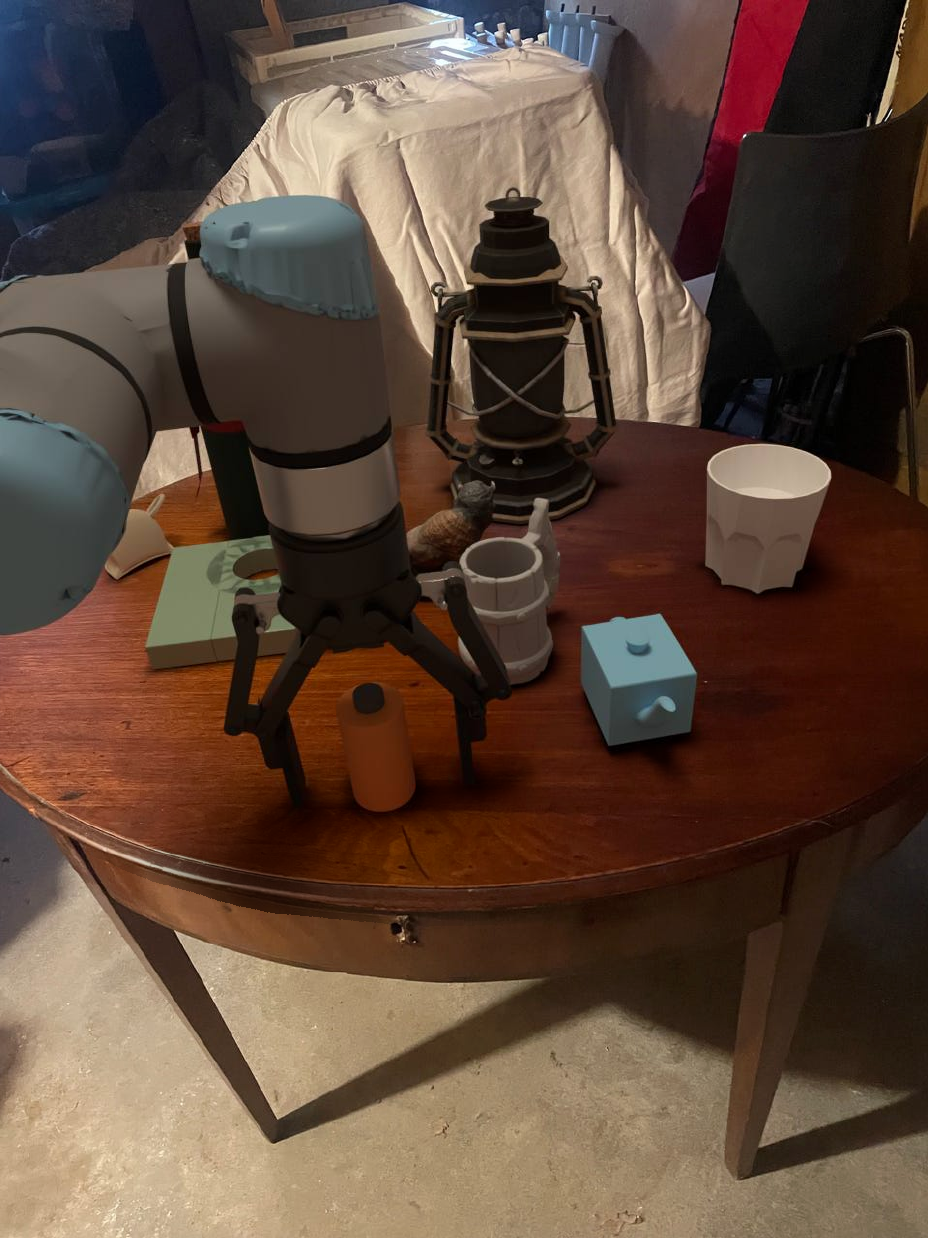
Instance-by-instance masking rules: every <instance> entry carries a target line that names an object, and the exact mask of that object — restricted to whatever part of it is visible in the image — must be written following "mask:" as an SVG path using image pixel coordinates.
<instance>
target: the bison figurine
mask: <svg viewBox="0 0 928 1238" xmlns="http://www.w3.org/2000/svg"><path fill="white" fill-rule="evenodd" d="M491 484H492V485H491V487H489V486H486V485H485V484H484V483H483V482H482V481H472V482H469V483H466V484H465V485H462V482H460V483H459V485H458V490H459V494H458V496H457V499H453V500H452V503H453V508H450V509H443V510H441V511H438V512H436V513H435V514H434V515H433V516H431V517H429V518H428V519H427V520H426V521H425V522H424V523H423V524H421V525H417V526H416V527H414V528H412V529H410V530H409V531H408V532H406V535H407V543H408V551H409V559H410V563H411V565H412V567H413V568H414V569H415V570H416V572H417V573H418V574H425V573H433V572H441V571H442V570H443V566H444V565H445V564H446V563H448V562H451V561H456V562H458V563H459V564H460V558H461V556H462V555H463V554H464V553H465V551H466V549H467V548H469V547H470V546H471V545H473V544H475V543H477V542H479V541H482V540H481V539H482V538H483V535H484V533H485V530H487V529H488V528H489V527H490V526H491V525H492V524H493V523H494V522H495V521H494V519H493V509H494V508H496V505H495V501H494V500H493V495H494V492H495V484H494V482H493V481H491Z"/></svg>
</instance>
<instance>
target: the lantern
mask: <svg viewBox="0 0 928 1238" xmlns="http://www.w3.org/2000/svg"><path fill="white" fill-rule="evenodd" d="M512 191H515V192H516V196H509V195H510V193H511V192H512ZM504 196H505V197H502V198H501V197H500V198H497V199H496V198H495V199H493V200H490V201H488V202H486V203H485V204H484V207H485V209H486V210H487V211H490V212H492V213H493V217H492V218H488V219H484V220H483V221H482V222H480V223H479V224H478V227H479V242H478V243H477V244H476V245H475V246H474V248H473V251H472V255H471V258H470V263H469V264H468V265H467V266H466V268H465V269H463V273H464V274H463V275H464V278H465V283H466V285H467V286H468V285H469V286H473V288H470V289H467V290H466V291H446V292H445V291H444V289H445V288H447V287H448V284H446V283H445V282H443V281H435V282H433V283H432V284H431V285H430V293H431V294H432V295H433V296H434V297H435V298H437V311H436V312H434V313H433V321H434V332H433V333H434V334H433V344H432V345H433V346H432V347H433V348H432V359H431V373H430V375H429V383H430V388H429V401H428V416H427V427H426V428H425V436H426V437H428V438H429V439H430V440H431V441H432V442H433V443H434V444H435V445H436V446H437V447H438V448H439V450H440V451H441V452H442V453H443V454H444V457H445V458H446V459H447V460H448V461H450V460H452V461H456V462H458V464H457V466H456V467H455V468H454V469H453V471H451V478H452V479H451V480H452V482H451V484H450V485H449V486H450V489H451V493H452V495H453V498H454V499H453V500H455V499H457V496H458V494H459V490H458V485H459V483H460V482H462V485H465V484H466V483H469V482H472V481H482V482H483V483H484V484H485V485H486V486H489V487H491V485H492V484H491V481H493V482H494V484H495V492H494V495H493V500H494V501H495V505H496V508H494V509H493V519H494V521H493V522H495V523H503V524H512V525H519V526H520V525H526V524H529V520H530V517H531V516H532V513H533V511H534V505H533V504H534V501H535V499H536V498H542V499H547V500H548V501H549V508H548V514H549V521H552V520H558V519H560V518H562V517H564V516H566V515H568V514H570V513H572V512H574V511H577V510H578V509H580V508H582V507H583V506H586V504H588V501H589V499H590V497H591V495H592V493H593V491H594V489H595V487H596V485H597V482H596V480H595V479H594V473H595V472H594V469H593V467H592V465H591V464H590V462H589V461H588V459H590V458H593V457H594V458H596V457H598V455H599V454H600V450H601V449H602V448H603V447H604V446H605V445H606V443H607V442H608V441H609V440H610V438H612V436H613V435H614V434H615V433H616V432H618V430H619V423H618V422H617V420H616V419H617V418H616V413H615V406H614V399H613V398H614V397H613V391H612V390H613V389H612V384H611V374H612V373H611V368H609V361H608V356H607V349H606V341H605V335H604V334H605V333H604V327H603V320H602V315H603V308H602V306H601V305H599V299H598V297H599V290H601V289H602V287H603V285H604V281H603V280H602V277H600V276H598V275H590V276H589V278H587V279H586V282H587V283H589V284H590V285H586V286H585V285H584V286H567V285H564V284H563V285H562V284H560V281H562V280H563V278H564V276H565V275H566V273H567V271H568V269H569V266H568V264H567V262H566V260H565V259H564V257H563V255H561V254H560V252H559V249H558V246H557V243H556V242H555V240H553V239H552V238H551V237H550V220H549V219H548V218H547V217H546V216H541V215H537V214H535V209H538V208H540V206H542V205H543V204H544V203H543V201H542V200H541V199H540V198H538V197H531V196H521V191H520V190H519V189H518V188H517V187H515V186H512V187H509V188H507V190H506V191H505V195H504ZM593 281H595V282H593ZM596 282H597V283H596ZM437 287H441V288H439V289H438V292H437V291H436V288H437ZM587 292H591V295H592V297H591V295H589V294H588V293H587ZM443 298H447V299H446V300H445V302H444V303H443ZM576 314H577V315H578V316H579V317H578V318H579V319H578V320H579V323H580V324H581V328H582V334H583V341H584V345H585V354H586V360H587V366H588V372H587V376H588V379H589V380H590V386H591V393H592V398H593V399H592V400H589V401H588V402H587V403H585V404H583V405H581V406H580V407H578V408H576V409H566V407H565V405H564V396H565V384H566V383H565V378H566V377H565V374H566V373H565V366H566V365H565V361H566V360H565V355H566V354H565V351H566V349H567V348H568V345H569V343H570V339H569V338H568V337H566V336H569V335H570V334H571V331H572V329H573V327H574V325H575V323H576V321H577V316H576ZM460 317H461V318H460ZM459 318H460V319H459ZM458 319H459V321H458ZM457 321H458V322H459V323H458V324H459V328H460V335H461V339H462V340H467V341H466V342H467V344H468V354H469V355H468V356H469V357H468V358H469V371H470V384H471V385H470V387H471V394H472V399H473V400H472V401H473V404H472V406H471V411H469V410H467V409H465V408H463V407H461V406H459V405H457V404H455V403H453V402H451V401H449V392H450V384H451V382H452V376H451V370H452V369H451V368H452V358H453V357H452V356H453V346H454V337H455V329H456V327H457ZM591 405H594V410H595V411H594V412H595V418H596V422H595V428H594V430H592V432H591V433H590V434H589V435H588V434H587V435H586V436H585V437H584V438H583V440H580V441H577V442H573V441H572V439H571V438H568V437H566V435H567V433H568V432H569V430H570V428H571V427H572V424H571V422H570V421H569V420H568V418H567V416H566V414H575V413H576V414H577V413H580V412H581V411H583V410H585V409H586V408H588V407H589V406H591ZM448 406H450V407H452V408H454V409H456V410H458V411H460V412H461V413H464V414H465V415H467V416H473V417H474V416H475V417H477V419H476V420H475V421H474V423H472V425H471V426H470V430H471V432H472V434H473V436H474V439H475V441H474V442H473V443H471V444H470V445H469V444H465V443H461V442H460V440H459V439H458V438H457V437H456V438H455V437H454V436H453V435H452V434H451V433H450V432H448V425H447V413H448Z"/></svg>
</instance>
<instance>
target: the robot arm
mask: <svg viewBox="0 0 928 1238" xmlns="http://www.w3.org/2000/svg"><path fill="white" fill-rule="evenodd" d="M201 222H202V224H201V228H200V239H201V246H202V247H201V249H200V253H199V255H200V258H195V259H189V260H187V261H186V262H185V261H183V262H175V263H169V264H159V265H148V266H137V267H128V268H127V267H126V268H117V269H116V268H115V269H107V270H96V271H87V272H74V273H65V274H64V273H63V274H54V275H34V274H33V273H30V274H29V273H28V274H20V275H14V277H11V278H10V279H9V280H6V281H0V637H1V636H2V637H3V636H4V637H5V636H12V635H19V634H24V633H28V632H31V631H32V632H33V631H36V630H39V629H41V628H44V627H47V626H50V625H51V624H53V623H55V622H57V621H59V620H61V619H63V618H65V616H67V615H68V614H69V613H71V612H72V611H73V610H74V609H75V608H77V607H78V606H79V605H80V604H81V603H82V602H83V601H84V600H85V599H86V598H87V596H88V595H89V594H90V593H92V591H93V590H94V588H95V587H96V585H97V583H98V580H99V578H100V577H101V574H102V572H103V570H104V569H105V564H106V561H107V559H108V557H109V555H110V554H111V553H112V552H113V551H114V550H115V549H116V547H117V546H118V544H119V543H120V541H121V539H122V537H123V535H124V533H125V531H126V523H127V517H128V513H129V510H130V509H131V506H132V501H133V499H134V498H133V497H134V495H135V492H136V489H137V486H138V483H139V480H140V477H141V474H142V471H143V468H144V465H145V463H146V461H147V459H148V457H149V454H150V451H151V448H152V446H153V443H154V441H155V437H156V434H157V432H164V431H173V430H180V429H187V428H188V429H189V427H197V426H199V427H200V426H205V425H207V426H208V425H213V424H221V423H222V422H226V421H234V420H239V421H242V422H243V425H244V428H245V430H246V433H247V439H248V444H249V449H250V454H251V458H252V462H253V467H254V471H255V475H256V479H257V484H258V488H259V492H260V497H261V501H262V505H263V510H264V514H265V516H266V517H267V519H268V520H269V534H270V538H271V542H272V547H273V551H274V555H275V559H276V564H277V568H278V569H277V573H278V574H279V577H280V581H281V586H280V589H279V592H275V593H267V594H259V595H256V594H255V592H254V591H253V590H252V589H250V588H248V587H243V588H240V589H238V590H237V591H236V593H235V599H234V605H233V612H232V623H233V627H234V630H235V634H236V637H237V641H238V644H237V650H236V655H235V659H234V662H233V668H232V674H231V678H230V679H231V680H230V684H229V685H230V686H229V691H228V692H229V693H228V697H227V703H226V708H225V709H226V710H225V716H224V722H223V732H224V734H225V735H228V736H229V737H237V736H240V735H241V734H243V733H248V734H252V735H254V736H255V737H256V738H257V740H258V744H259V747H260V750H261V754H262V758H263V761H264V764H265V765H264V766H265V767H267V768H268V770H270V771H271V770H279V769H282V773H283V776H284V779H285V783H286V787H287V790H288V794H289V798H290V801H291V805H292V808H293V810H297V809H303V808H305V804H306V803H305V802H306V779H307V778H306V775H305V771H304V767H303V763H302V759H301V755H300V752H299V748H298V743H297V740H296V736H295V732H294V727H293V723H292V720H291V717H290V711H289V709H290V707H291V706H292V704H293V702H294V700H295V699H296V697H297V695H298V693H299V691H300V690H301V688H302V686H303V685H304V683H305V681H306V680H307V678H308V676H309V674H310V672H311V670H312V669H315V668H316V667H317V665H318V663H319V662H320V660H321V658H322V656H323V655H324V653H325V651H326V650H330V651H332V654H333V655H334V654H340V653H346V652H347V653H348V652H350V651H352V650H353V651H354V650H355V649H359V648H360V649H370V650H371V649H380V648H385V644H386V643H388V644H390V645H391V646H392V647H393V648H394V649H395V650H397V652H399V653H400V654H401V655H402V656H403V657H407V656H408V657H409V658H411V659H412V660H413V661H414V662H415V663H416V664H417V665H418V666H419V667H421V668H422V669H423V670H424V671H425V672H426V673H427V674H428V675H430V676H431V677H432V678H433V679H434V680H435V681H436V682H438V684H440V686H442V687H443V688H444V690H446V691H447V692H448V693H450V695H452V698H453V707H454V718H455V726H456V737H457V738H456V739H457V746H458V756H459V757H458V758H459V764H460V770H461V776H462V782H463V786H472V785H475V784H476V783H475V773H474V771H475V770H474V761H473V750H472V749H473V748H472V743H476V742H483V741H485V740H486V738H487V735H488V733H487V719H486V718H487V717H486V715H487V713H488V711H487V704H488V703H489V702H491V701H493V700H495V699H496V700H499V701H506V700H508V699H510V698H511V696H512V694H513V690H512V685H510V681H509V677H508V673H507V669H506V666H505V664H504V662H503V660H502V659H501V657H500V655H499V653H498V651H497V650H496V648H495V646H494V644H493V642H492V641H491V639H490V637H489V635H488V633H487V632H486V630H485V628H484V626H483V624H482V623H481V621H480V619H479V617H478V615H477V614H476V612H475V610H474V608H473V606H472V605H471V603H470V601H469V599H468V597H467V589H466V584H465V580H464V575H463V570H462V567H461V565H460V564H459V563H458V562H456V561H451V562H448V563H446V564H445V565H444V566H443V570H442V571H441V572H433V573H425V574H418V573H417V572H416V570H415V569H414V568H413V567H412V565H411V563H410V559H409V551H408V543H407V535H406V534H407V527H406V520H405V512H404V506H403V504H402V502H401V500H400V498H401V496H402V492H401V491H402V489H401V482H400V475H399V474H400V473H399V467H398V458H397V450H396V440H395V433H394V432H395V431H394V427H393V424H392V416H391V406H390V398H389V389H388V379H387V372H386V363H385V354H384V344H383V336H382V328H381V318H380V317H381V316H380V310H379V303H378V302H379V301H378V296H377V292H376V291H377V290H376V286H375V281H374V280H375V279H374V274H373V269H372V263H371V258H370V257H371V256H370V252H369V246H368V240H367V235H366V229H365V226H364V225H365V224H364V223H363V221H362V219H361V217H360V216H359V215H358V213H357V212H356V211H355V210H354V209H353V208H352V207H351V206H350V205H348V204H347V203H345V202H343V201H341V200H339V199H337V198H333V197H330V196H324V195H314V194H311V195H310V194H294V195H293V194H292V195H278V196H268V197H262V198H259V199H257V200H252V201H241V202H236V203H233V204H229V205H226V206H223V207H220V208H218V209H215V210H214V211H212V212H210V213H209V214H207V216H205V218H204V219H203V220H202V221H201ZM422 597H426V598H429V599H430V600H431V601H432V602H433V604H434V606H435V607H437V608H439V610H440V611H443V612H445V611H447V612H448V616H449V619H450V623H451V624H452V626H453V629H454V630H455V632H456V633H457V635H458V637H460V639H461V640H462V642H463V644H464V645H465V647H466V649H467V651H468V652H469V654H470V656H471V657H472V659H473V661H474V663H475V664H476V666H477V668H478V669H479V671H480V673H481V674H480V675H477V674H476V673H475V672H474V671H473V670H472V669H471V668H469V667H468V666H467V665H466V664H465V663H464V661H463V660H462V658H461V657H459V656H458V655H457V654H456V653H455V652H454V651H453V650H452V649H450V647H448V645H446V644H445V643H444V642H443V641H442V640H441V639H440V638H439V637H438V636H437V635H435V634H434V633H433V632H432V631H431V630H430V629H429V628H428V627H427V626H426V625H425V624H424V623H423V622H422V621H421V620H420V618H419V616H418V615H417V613H416V612H415V611H414V609H415V608H416V606H417V605H418V604H419V602H420V600H421V598H422ZM279 614H280V615H281V616H282V617H283V618H284V619H285V620H287V621H288V622H289V623H290V624H292V625H293V626H294V627H296V628H297V629H298V630H297V633H296V636H295V638H294V640H293V642H292V644H291V646H290V648H289V649H288V651H287V653H285V655H284V657H283V658H282V660H281V662H280V664H279V666H278V667H277V669H276V671H275V673H274V675H273V676H272V678H271V680H270V682H269V684H268V686H267V687H266V689H265V691H264V693H263V694H262V696H261V698H260V697H258V698H257V703H256V704H253V703H249V701H250V697H251V691H252V686H253V681H254V674H255V669H256V663H257V659H258V656H257V654H258V646H259V637H260V635H261V634H263V633H264V632H265V631H266V630H268V629H269V628H270V626H271V620H272V618H273V617H274V616H276V615H279Z"/></svg>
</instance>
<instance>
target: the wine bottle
mask: <svg viewBox="0 0 928 1238" xmlns="http://www.w3.org/2000/svg"><path fill="white" fill-rule="evenodd" d="M202 222H203V221H194V222H185V223H184V224H183V226H182V231H183V233H184V236H185V240H184V241H183V243H184V247H185V251H186V255H187V259H188V260H189V259H195V258H200V255H199V253H200V249H201V247H202V246H201V239H200V228H201V224H202ZM188 260H187V261H188ZM188 429H189V432H190V436H191V439H193V444H194V445H193V446H194V452H195V458H196V465H197V466H196V467H197V472H198V479H199V483H198V486H197V489H196V495H195V500H194V502H197V499H198V496H199V493H200V490H201V484H202V478H203V468H202V467H203V466H202V461H201V451H200V444H199V436H198V435H199V433H200V432H201V434H202V435H201V436H202V439H203V442H204V446H205V450H206V454H207V458H208V461H209V466H210V469H211V470H210V471H211V474H212V478H213V481H214V485H215V489H216V492H217V496H218V497H217V498H218V500H219V504H220V509H221V512H222V515H223V519H224V523H225V527H226V532H227V535H228V537H229V541H231V540H240V539H248V538H253V537H259V536H268V535H270V534H269V520H268V519H267V517H266V516H265V514H264V510H263V505H262V501H261V497H260V492H259V488H258V484H257V479H256V475H255V471H254V467H253V462H252V458H251V454H250V449H249V444H248V439H247V433H246V430H245V428H244V425H243V422H242V421H239V420H234V421H226V422H222V423H221V424H213V425H208V426H207V425H205V426H197V427H189V428H188ZM200 430H201V431H200Z"/></svg>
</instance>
